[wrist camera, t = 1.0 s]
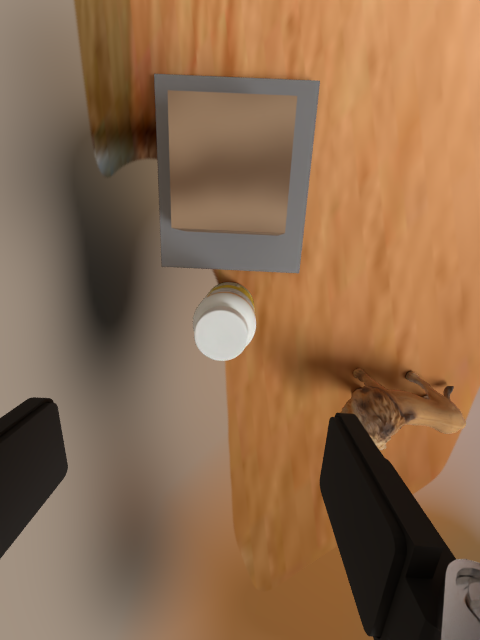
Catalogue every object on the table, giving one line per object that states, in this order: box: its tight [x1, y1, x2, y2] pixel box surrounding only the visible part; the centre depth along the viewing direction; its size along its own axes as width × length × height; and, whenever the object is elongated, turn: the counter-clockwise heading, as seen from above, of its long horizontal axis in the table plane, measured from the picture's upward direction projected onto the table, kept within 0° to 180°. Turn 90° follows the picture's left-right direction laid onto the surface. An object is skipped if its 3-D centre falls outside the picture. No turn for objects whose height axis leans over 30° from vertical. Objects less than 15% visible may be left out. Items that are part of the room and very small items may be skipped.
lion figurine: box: [341, 368, 466, 450], centre depth 26 cm, size 15×5×9 cm, turn 93°
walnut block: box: [168, 90, 297, 236], centre depth 21 cm, size 9×9×5 cm
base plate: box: [154, 74, 320, 273], centre depth 24 cm, size 16×14×1 cm
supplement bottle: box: [193, 282, 256, 361], centre depth 23 cm, size 5×5×10 cm
